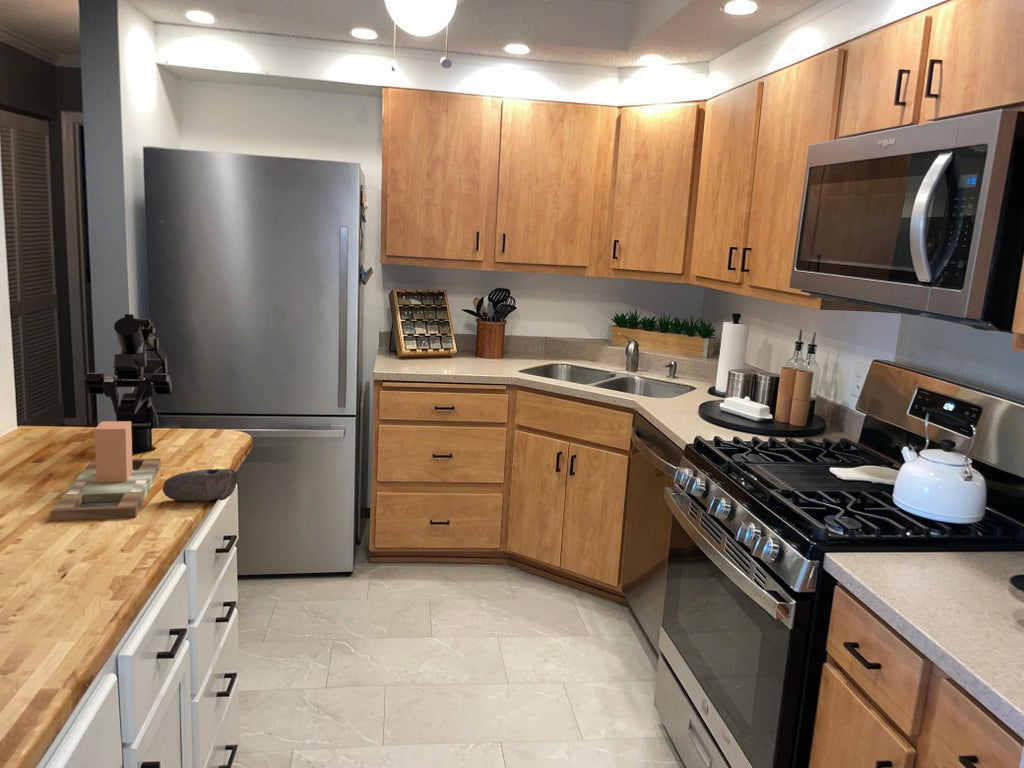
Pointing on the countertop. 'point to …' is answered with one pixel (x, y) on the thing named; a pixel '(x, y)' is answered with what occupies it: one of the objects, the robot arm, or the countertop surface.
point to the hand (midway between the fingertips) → (124, 413)
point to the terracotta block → (113, 451)
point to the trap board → (106, 494)
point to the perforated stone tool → (201, 485)
